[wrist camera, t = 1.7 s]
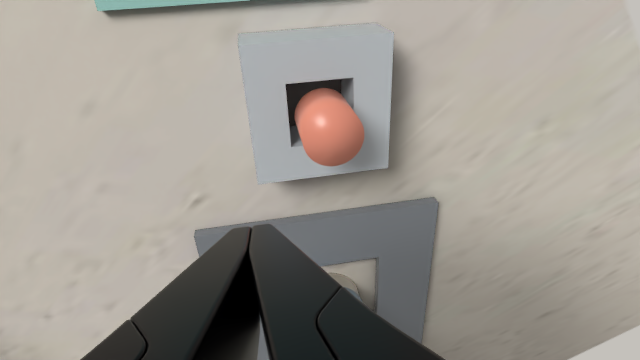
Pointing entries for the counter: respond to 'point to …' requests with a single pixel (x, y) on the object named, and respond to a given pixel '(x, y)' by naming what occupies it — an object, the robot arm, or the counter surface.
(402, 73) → the counter surface
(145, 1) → the rubber mat
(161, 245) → the counter surface
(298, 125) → the release button
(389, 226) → the port plate
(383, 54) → the block
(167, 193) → the counter surface
